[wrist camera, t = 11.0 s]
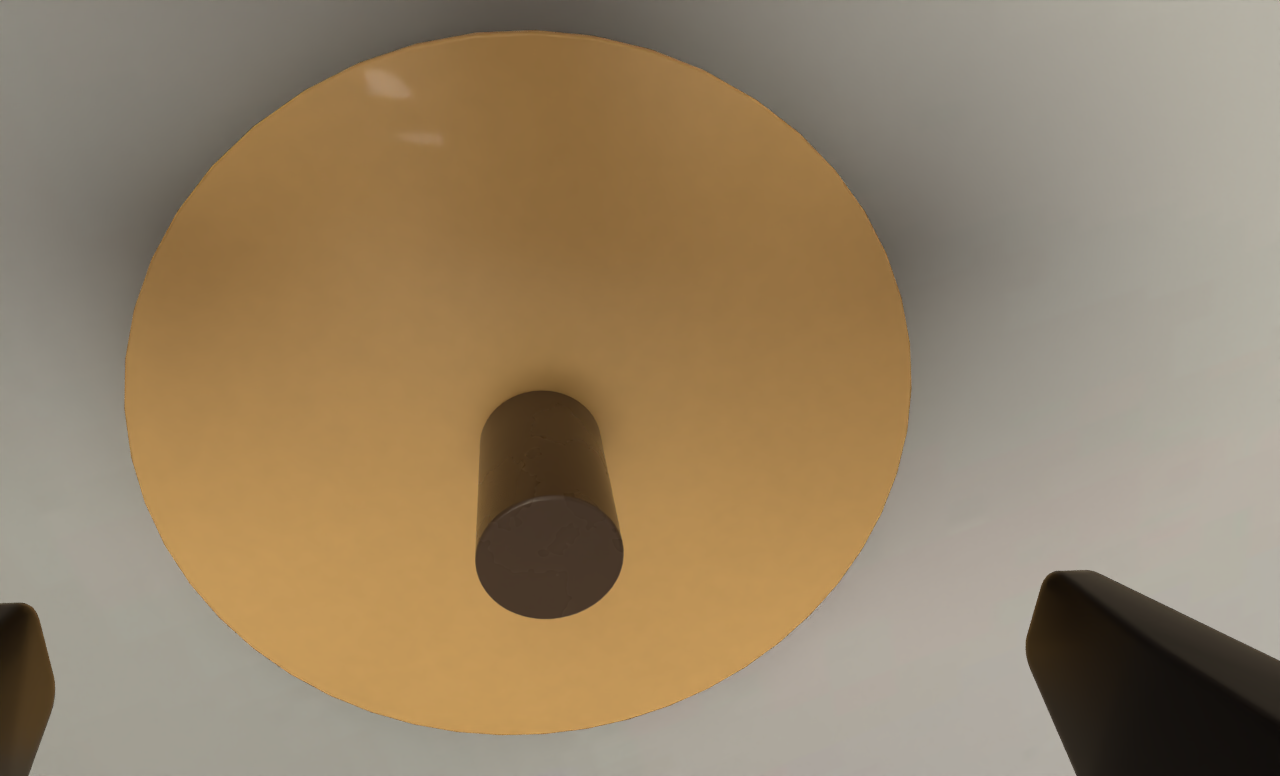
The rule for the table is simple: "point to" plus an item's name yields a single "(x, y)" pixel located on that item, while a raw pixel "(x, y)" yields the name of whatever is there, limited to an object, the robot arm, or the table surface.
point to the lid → (517, 383)
